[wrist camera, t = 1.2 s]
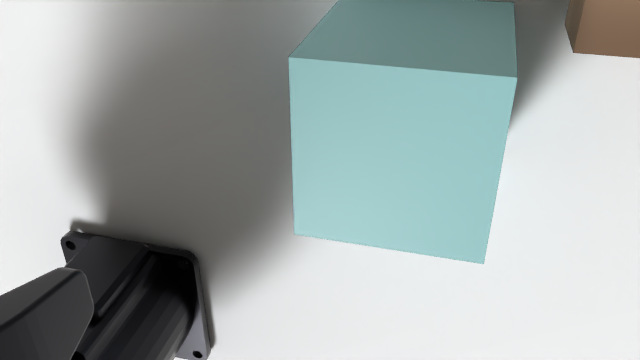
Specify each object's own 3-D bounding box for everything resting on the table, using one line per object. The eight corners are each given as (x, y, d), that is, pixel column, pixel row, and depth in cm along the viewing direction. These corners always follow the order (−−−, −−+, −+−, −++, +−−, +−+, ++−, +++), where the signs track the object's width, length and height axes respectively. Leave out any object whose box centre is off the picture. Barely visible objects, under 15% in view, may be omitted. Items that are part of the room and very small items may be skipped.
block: (489, 152, 20) (483, 263, 15) (343, 135, 21) (294, 234, 16) (513, 2, 17) (517, 77, 12) (346, -9, 18) (288, 57, 14)
